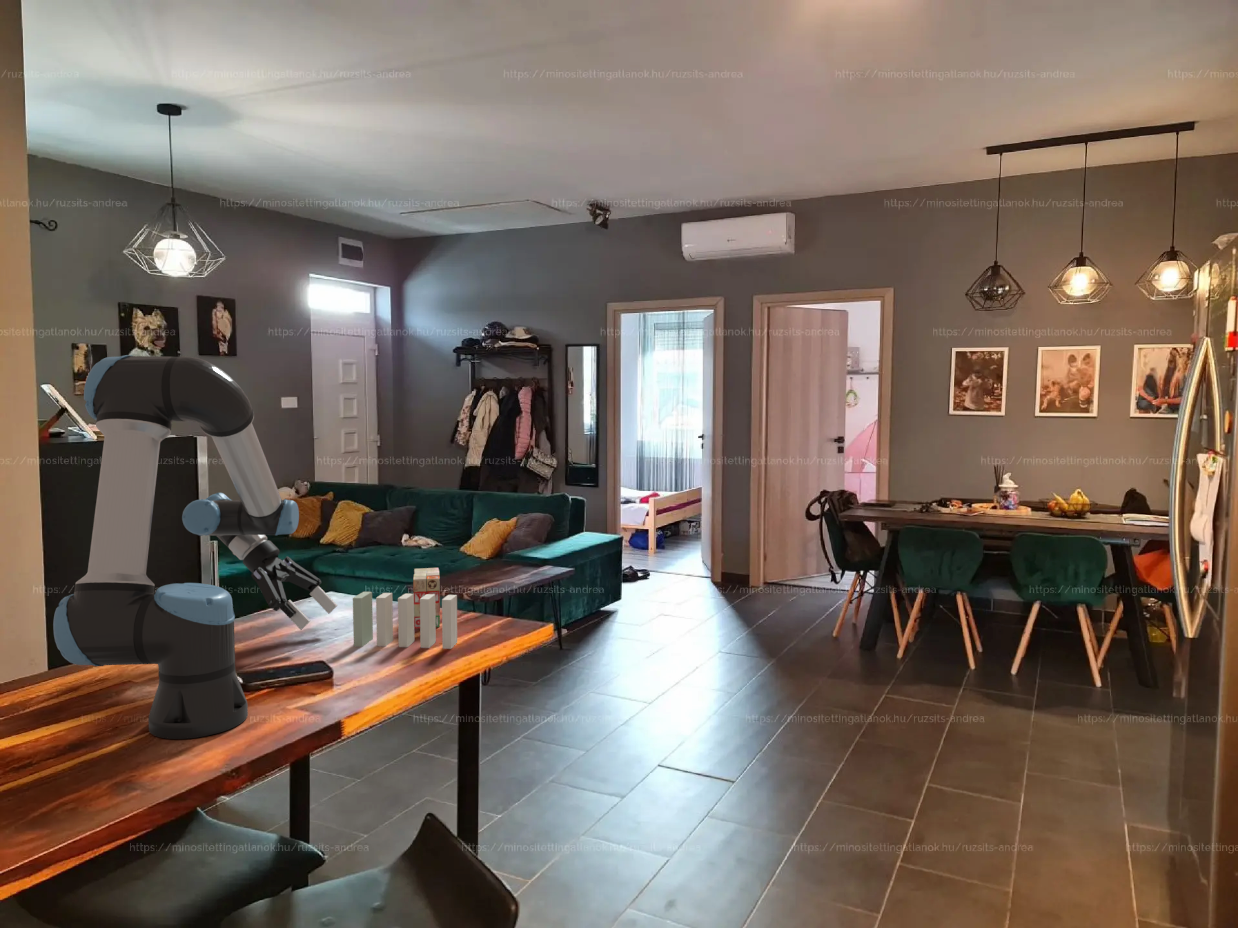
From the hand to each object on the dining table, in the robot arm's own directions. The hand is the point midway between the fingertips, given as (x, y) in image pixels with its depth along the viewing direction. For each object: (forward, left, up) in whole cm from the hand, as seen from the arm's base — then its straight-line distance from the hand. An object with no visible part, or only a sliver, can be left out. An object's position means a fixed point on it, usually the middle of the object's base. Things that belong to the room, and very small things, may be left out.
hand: (320, 617), depth 189 cm
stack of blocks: (+29, +2, -6) cm, 30 cm away
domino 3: (+16, -19, -5) cm, 26 cm away
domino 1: (+10, -12, -5) cm, 16 cm away
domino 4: (+19, -23, -5) cm, 31 cm away
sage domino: (+6, -8, -5) cm, 11 cm away
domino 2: (+13, -15, -5) cm, 21 cm away
